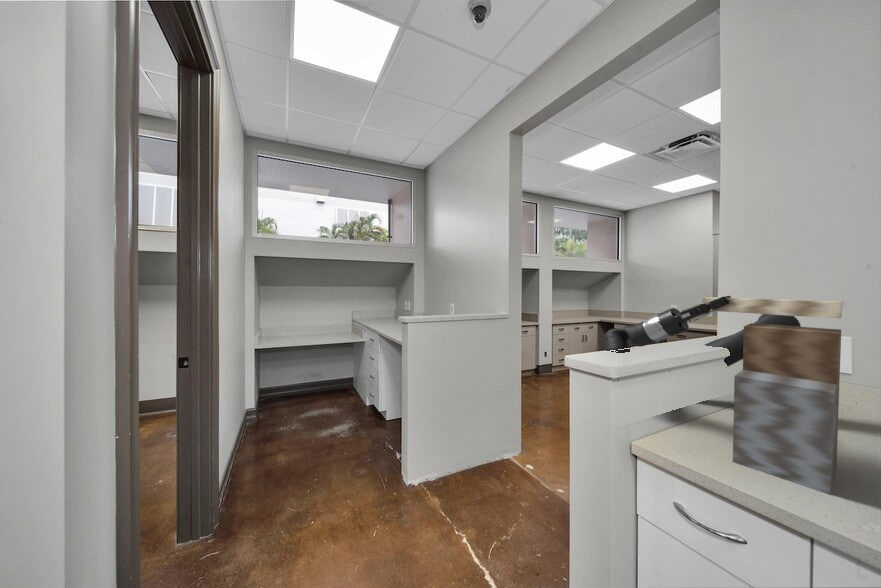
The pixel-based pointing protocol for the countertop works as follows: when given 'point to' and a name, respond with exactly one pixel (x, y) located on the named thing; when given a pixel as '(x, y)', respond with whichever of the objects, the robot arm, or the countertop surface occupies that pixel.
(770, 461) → the stepped pedestal
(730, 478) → the countertop surface
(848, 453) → the countertop surface
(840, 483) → the countertop surface
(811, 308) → the ash bar
